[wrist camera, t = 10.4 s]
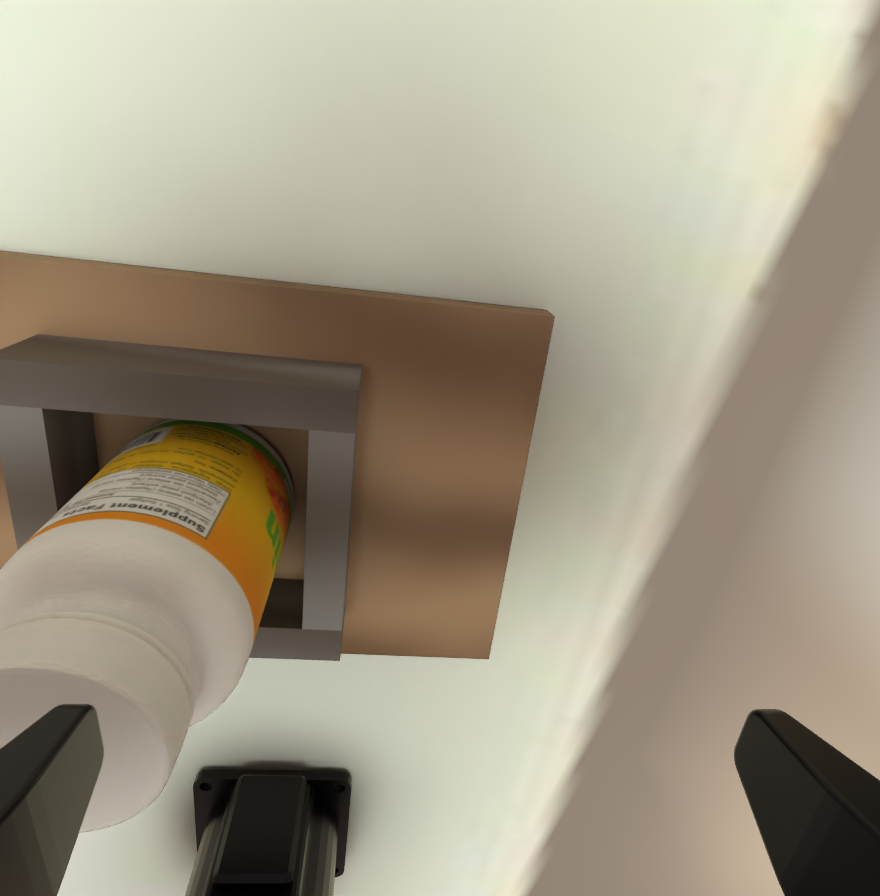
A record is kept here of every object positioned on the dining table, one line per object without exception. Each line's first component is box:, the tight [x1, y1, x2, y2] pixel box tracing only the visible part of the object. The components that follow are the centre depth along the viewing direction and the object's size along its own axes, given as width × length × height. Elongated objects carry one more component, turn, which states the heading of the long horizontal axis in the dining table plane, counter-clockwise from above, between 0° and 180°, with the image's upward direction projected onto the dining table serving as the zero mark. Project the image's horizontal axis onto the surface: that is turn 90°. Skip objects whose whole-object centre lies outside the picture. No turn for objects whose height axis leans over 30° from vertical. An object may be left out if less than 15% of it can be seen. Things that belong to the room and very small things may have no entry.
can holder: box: [0, 251, 555, 661], centre depth 18 cm, size 13×20×4 cm, turn 83°
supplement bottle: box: [0, 419, 294, 832], centre depth 14 cm, size 5×5×10 cm
